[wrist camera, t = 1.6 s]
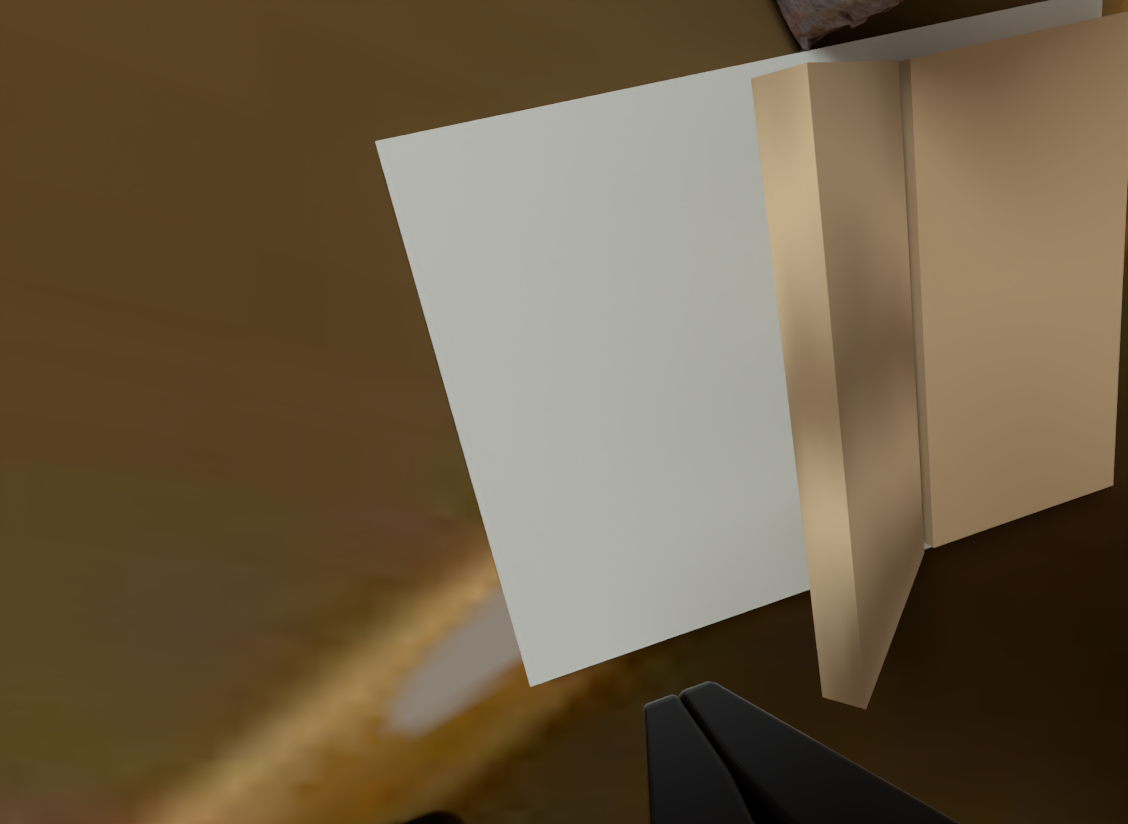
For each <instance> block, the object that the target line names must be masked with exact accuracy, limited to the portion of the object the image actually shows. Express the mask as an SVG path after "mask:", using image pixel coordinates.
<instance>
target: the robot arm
mask: <svg viewBox="0 0 1128 824" xmlns="http://www.w3.org/2000/svg"><path fill="white" fill-rule="evenodd" d="M643 715H644V736H645V757H646V778H647V798H648V819H649V824H961V823H959V822H958V821H956V820H954V819H952V818H951V817H949V816H947V815H945V814H944V813H942V812H940V811H938V810H937V809H935V808H933V807H931V806H930V805H928V804H926V803H925V802H923V801H921V800H919V799H918V798H916V797H914V796H912V795H911V794H909V793H907V792H905V791H904V790H902V789H900V788H898V787H897V786H895V785H893V784H891V783H890V782H888V781H886V780H884V779H883V778H881V777H879V776H877V775H876V774H874V773H872V772H870V771H869V770H867V769H865V768H863V767H862V766H860V765H858V764H856V763H855V762H853V761H851V760H849V759H848V758H846V757H844V756H842V755H841V754H839V753H837V752H836V751H834V750H832V749H830V748H829V747H827V746H825V745H823V744H822V743H820V742H818V741H816V740H815V739H813V738H811V737H809V736H808V735H806V734H804V733H802V732H801V731H799V730H797V729H795V728H794V727H792V726H790V725H788V724H787V723H785V722H783V721H781V720H780V719H778V718H776V717H774V716H773V715H771V714H769V713H767V712H766V711H764V710H762V709H760V708H759V707H757V706H755V705H753V704H752V703H750V702H748V701H747V700H745V699H743V698H741V697H740V696H738V695H736V694H734V693H733V692H731V691H729V690H727V689H726V688H724V687H722V686H720V685H719V684H717V683H715V682H710V681H709V682H704V683H702V684H699V685H696V686H693V687H691V688H688V689H685V690H683V691H682V692H681V693H680V695H679V697H678V696H676V695H669V696H666V697H663V698H661V699H658V700H655V701H653V702H650V703H648V704H646V705H645V706H644V709H643ZM406 824H447V823H446V821H445V820H444V818H443V817H441V816H439V815H433V814H432V815H428V816H424V817H422V818H419V819H416V820H414V821H411V822H408V823H406Z"/></svg>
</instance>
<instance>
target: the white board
mask: <svg viewBox="0 0 1128 824" xmlns="http://www.w3.org/2000/svg"><path fill="white" fill-rule="evenodd" d="M863 61H899V76H900V95H901V114H902V133H903V152H904V171H905V190H906V210H907V229H908V248H909V267H910V286H911V305H912V324H913V343H914V362H915V381H916V401H917V420H918V439H919V458H920V477H921V496H922V515H923V534H924V549H927V548H930V547H933V548H935V547H938V546H941V545H943V544H946V543H949V542H952V541H955V540H958V539H961V538H963V537H966V536H969V535H972V534H975V533H978V532H981V531H983V530H986V529H989V528H992V527H995V526H998V525H1001V524H1004V523H1006V522H1009V521H1012V520H1015V519H1018V518H1021V517H1024V516H1026V515H1029V514H1032V513H1035V512H1038V511H1041V510H1044V509H1046V508H1049V507H1052V506H1055V505H1058V504H1061V503H1064V502H1067V501H1069V500H1072V499H1075V498H1078V497H1081V496H1084V495H1087V494H1089V493H1092V492H1095V491H1098V490H1101V489H1104V488H1107V487H1109V486H1112V485H1113V476H1114V455H1115V434H1116V413H1117V391H1118V370H1119V349H1120V328H1121V307H1122V286H1123V264H1124V243H1125V222H1126V201H1127V180H1128V11H1127V12H1122V13H1118V14H1113V15H1109V16H1104V17H1102V0H1048V1H1043V2H1039V3H1034V4H1029V5H1024V6H1020V7H1015V8H1010V9H1005V10H1000V11H996V12H991V13H986V14H981V15H977V16H972V17H967V18H962V19H957V20H953V21H948V22H943V23H938V24H934V25H929V26H924V27H919V28H914V29H910V30H905V31H900V32H895V33H891V34H886V35H881V36H876V37H871V38H867V39H862V40H857V41H852V42H847V43H843V44H838V45H833V46H828V47H824V48H819V49H814V50H809V51H804V52H800V53H795V54H790V55H785V56H781V57H776V58H771V59H766V60H761V61H757V62H752V63H747V64H742V65H738V66H733V67H728V68H723V69H718V70H714V71H709V72H704V73H699V74H695V75H690V76H685V77H680V78H675V79H671V80H666V81H661V82H656V83H652V84H647V85H642V86H637V87H632V88H628V89H623V90H618V91H613V92H609V93H604V94H599V95H594V96H589V97H585V98H580V99H575V100H570V101H565V102H561V103H556V104H551V105H546V106H542V107H537V108H532V109H527V110H522V111H518V112H513V113H508V114H503V115H499V116H494V117H489V118H484V119H479V120H475V121H470V122H465V123H460V124H456V125H451V126H446V127H441V128H436V129H432V130H427V131H422V132H417V133H413V134H408V135H403V136H398V137H393V138H389V139H384V140H379V141H375V143H376V147H377V150H378V154H379V157H380V161H381V164H382V168H383V171H384V175H385V178H386V182H387V185H388V189H389V192H390V196H391V199H392V203H393V206H394V210H395V213H396V217H397V221H398V224H399V228H400V231H401V235H402V238H403V242H404V245H405V249H406V252H407V256H408V259H409V263H410V266H411V270H412V273H413V277H414V280H415V284H416V287H417V291H418V294H419V298H420V301H421V305H422V308H423V312H424V315H425V319H426V322H427V326H428V329H429V333H430V336H431V340H432V343H433V347H434V351H435V354H436V358H437V361H438V365H439V368H440V372H441V375H442V379H443V382H444V386H445V389H446V393H447V396H448V400H449V403H450V407H451V410H452V414H453V417H454V421H455V424H456V428H457V431H458V435H459V438H460V442H461V445H462V449H463V452H464V456H465V459H466V463H467V466H468V470H469V473H470V477H471V481H472V484H473V488H474V491H475V495H476V498H477V502H478V505H479V509H480V512H481V516H482V519H483V523H484V526H485V530H486V533H487V537H488V540H489V544H490V547H491V551H492V554H493V558H494V561H495V565H496V568H497V572H498V575H499V579H500V582H501V586H502V589H503V593H504V596H505V600H506V603H507V607H508V611H509V614H510V618H511V621H512V625H513V628H514V631H515V635H516V639H517V642H518V646H519V649H520V653H521V656H522V660H523V663H524V667H525V670H526V674H527V677H528V681H529V684H530V687H532V686H535V685H537V684H540V683H543V682H546V681H549V680H552V679H555V678H557V677H560V676H563V675H566V674H569V673H572V672H575V671H578V670H580V669H583V668H586V667H589V666H592V665H595V664H598V663H600V662H603V661H606V660H609V659H612V658H615V657H618V656H621V655H623V654H626V653H629V652H632V651H635V650H638V649H641V648H643V647H646V646H649V645H652V644H655V643H658V642H661V641H664V640H666V639H669V638H672V637H675V636H678V635H681V634H684V633H686V632H689V631H692V630H695V629H698V628H701V627H704V626H707V625H709V624H712V623H715V622H718V621H721V620H724V619H727V618H729V617H732V616H735V615H738V614H741V613H744V612H747V611H750V610H752V609H755V608H758V607H761V606H764V605H767V604H770V603H773V602H775V601H778V600H781V599H784V598H787V597H790V596H793V595H795V594H798V593H801V592H804V591H807V590H810V584H809V575H808V567H807V558H806V549H805V541H804V532H803V524H802V515H801V506H800V498H799V489H798V480H797V472H796V463H795V455H794V446H793V437H792V429H791V420H790V412H789V403H788V394H787V386H786V377H785V368H784V360H783V351H782V343H781V334H780V325H779V317H778V308H777V300H776V291H775V282H774V274H773V265H772V256H771V248H770V239H769V231H768V222H767V213H766V205H765V196H764V188H763V179H762V170H761V162H760V153H759V144H758V136H757V127H756V119H755V110H754V101H753V93H752V84H751V78H754V77H758V76H761V75H765V74H768V73H772V72H775V71H779V70H782V69H786V68H789V67H793V66H796V65H800V64H803V63H807V62H863Z"/></svg>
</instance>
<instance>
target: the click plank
mask: <svg viewBox="0 0 1128 824" xmlns="http://www.w3.org/2000/svg"><path fill="white" fill-rule="evenodd" d="M751 84H752V93H753V101H754V110H755V119H756V127H757V136H758V144H759V153H760V162H761V170H762V179H763V188H764V196H765V205H766V213H767V222H768V231H769V239H770V248H771V256H772V265H773V274H774V282H775V291H776V300H777V308H778V317H779V325H780V334H781V343H782V351H783V360H784V368H785V377H786V386H787V394H788V403H789V412H790V420H791V429H792V437H793V446H794V455H795V463H796V472H797V480H798V489H799V498H800V506H801V515H802V524H803V532H804V541H805V549H806V558H807V567H808V575H809V584H810V593H811V601H812V610H813V618H814V627H815V636H816V644H817V653H818V661H819V670H820V679H821V687H822V696H823V697H824V698H828V699H831V700H835V701H838V702H842V703H845V704H849V705H852V706H856V707H860V708H863V709H866V708H867V705H868V703H869V700H870V697H871V695H872V692H873V689H874V687H875V684H876V681H877V679H878V676H879V673H880V671H881V668H882V665H883V663H884V660H885V657H886V654H887V652H888V649H889V646H890V644H891V641H892V638H893V636H894V633H895V630H896V628H897V625H898V622H899V620H900V617H901V614H902V612H903V609H904V606H905V603H906V601H907V598H908V595H909V593H910V590H911V587H912V585H913V582H914V579H915V577H916V574H917V571H918V569H919V566H920V563H921V561H922V558H923V555H924V534H923V515H922V496H921V477H920V458H919V439H918V420H917V401H916V381H915V362H914V343H913V324H912V305H911V286H910V267H909V248H908V229H907V210H906V190H905V171H904V152H903V133H902V114H901V95H900V76H899V61H863V62H807V63H803V64H800V65H796V66H793V67H789V68H786V69H782V70H779V71H775V72H772V73H768V74H765V75H761V76H758V77H754V78H751Z"/></svg>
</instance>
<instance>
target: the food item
mask: <svg viewBox="0 0 1128 824" xmlns="http://www.w3.org/2000/svg"><path fill="white" fill-rule="evenodd" d="M902 1H904V0H777V3H778V5H779V8H780V10H781V13H782V15H783V17H784V19H785V20H786V22H787V24H788V26H789V28H790V30H791V32H792V33H793V35H794V37H795V39H796V40H797V41H798V43H799V44H800V46H801V47H802V49H801V51H800V52H802V51H807V50H809V49H811V46H812V45H814V44H815V43H816V42H818V41H820V40H821V39H822V38H824V37H825V36H827V35H828V34H830V33H831V32H833V31H834V32H837V31H839V30H840V29H841V28H842V27H843V26H845V25H850V26H851V28H853V27H856V26H858V25H860V24H863V23H865V22H866V20H867V19H868V17H869V16H870V15H873V14H876V13H881V12H887V11H888V10H890V9H891V8H893V7H894V6H896V5H898V4H899V3H901V2H902Z"/></svg>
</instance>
